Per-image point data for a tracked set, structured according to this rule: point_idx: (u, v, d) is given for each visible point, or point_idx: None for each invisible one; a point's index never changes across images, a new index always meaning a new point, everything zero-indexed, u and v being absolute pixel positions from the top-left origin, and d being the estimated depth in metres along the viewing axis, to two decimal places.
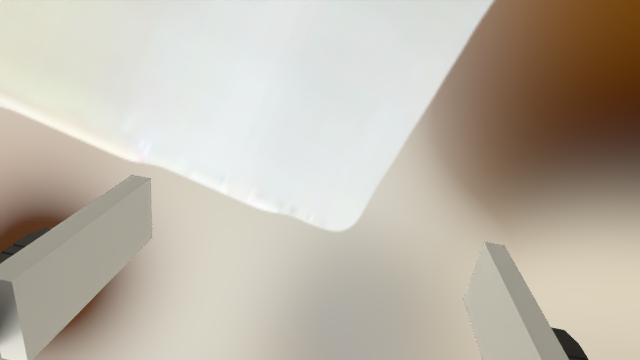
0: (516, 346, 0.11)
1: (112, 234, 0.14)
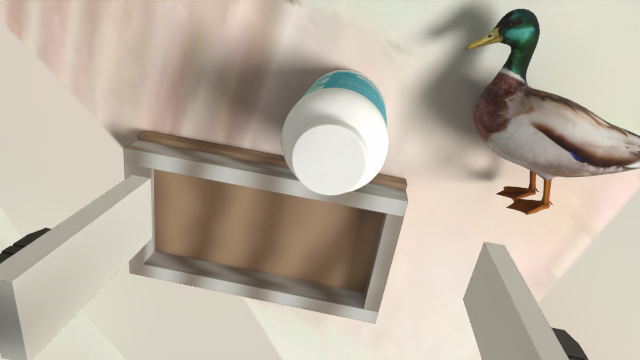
0: (516, 346, 0.11)
1: (112, 234, 0.14)
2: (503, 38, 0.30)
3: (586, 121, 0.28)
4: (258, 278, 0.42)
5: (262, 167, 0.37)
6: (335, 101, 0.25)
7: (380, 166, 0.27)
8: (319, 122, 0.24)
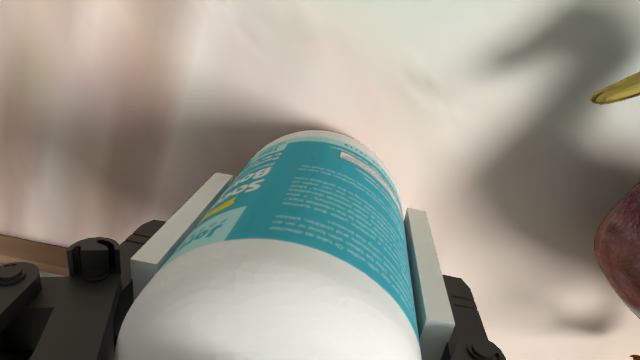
0: (412, 289, 0.13)
1: None
2: None
3: None
4: None
5: None
6: (251, 310, 0.07)
7: None
8: None
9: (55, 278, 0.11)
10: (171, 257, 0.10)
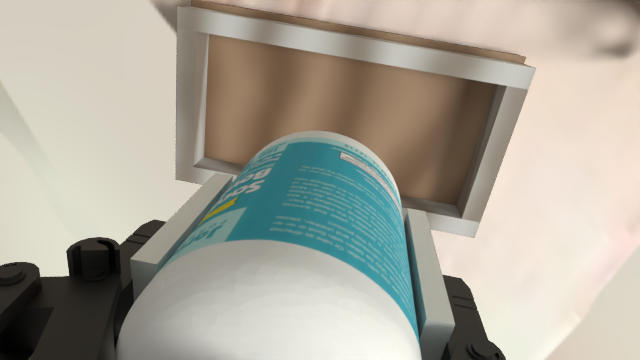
0: (412, 289, 0.13)
1: None
2: None
3: None
4: None
5: (347, 34, 0.30)
6: (252, 311, 0.07)
7: None
8: None
9: (55, 278, 0.11)
10: (171, 258, 0.10)
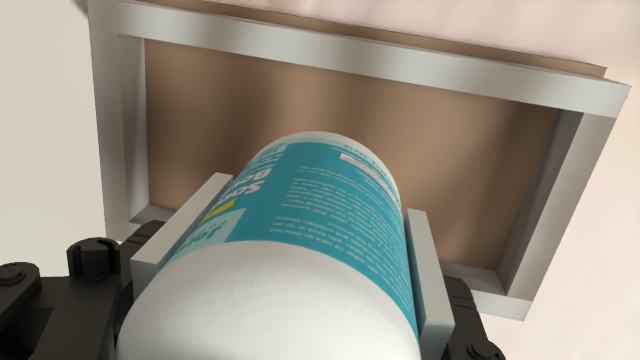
0: (412, 289, 0.13)
1: None
2: None
3: None
4: None
5: (342, 36, 0.20)
6: (251, 312, 0.07)
7: None
8: None
9: (55, 278, 0.11)
10: (171, 259, 0.10)
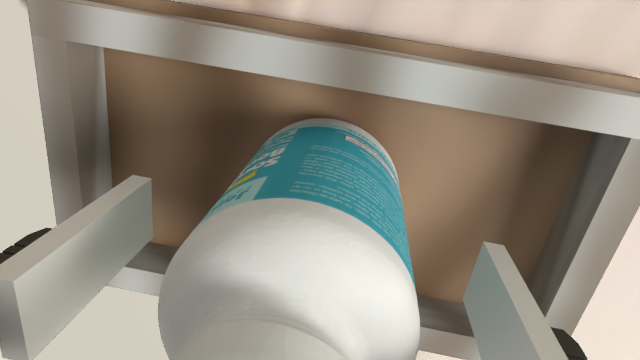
0: (515, 345, 0.11)
1: (113, 234, 0.14)
2: None
3: None
4: None
5: (336, 43, 0.17)
6: (279, 250, 0.09)
7: None
8: (220, 340, 0.08)
9: None
10: (205, 217, 0.11)
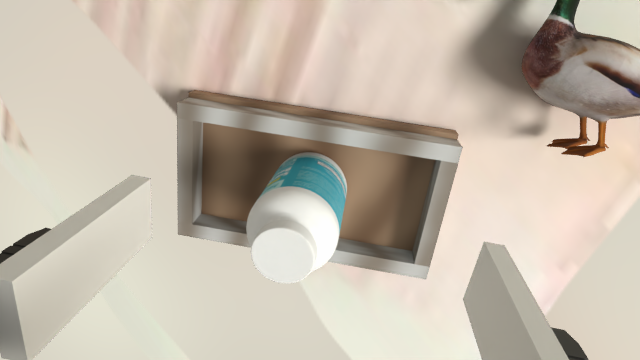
0: (516, 346, 0.11)
1: (112, 234, 0.14)
2: None
3: None
4: None
5: (313, 119, 0.37)
6: (289, 201, 0.30)
7: (331, 253, 0.31)
8: (272, 224, 0.28)
9: None
10: (262, 194, 0.32)
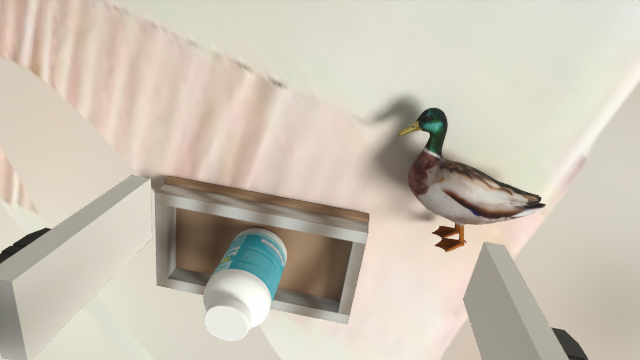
0: (516, 346, 0.11)
1: (112, 234, 0.14)
2: (422, 128, 0.42)
3: (480, 187, 0.40)
4: None
5: (259, 206, 0.49)
6: (232, 282, 0.41)
7: (265, 316, 0.43)
8: (219, 301, 0.40)
9: None
10: (215, 272, 0.44)
